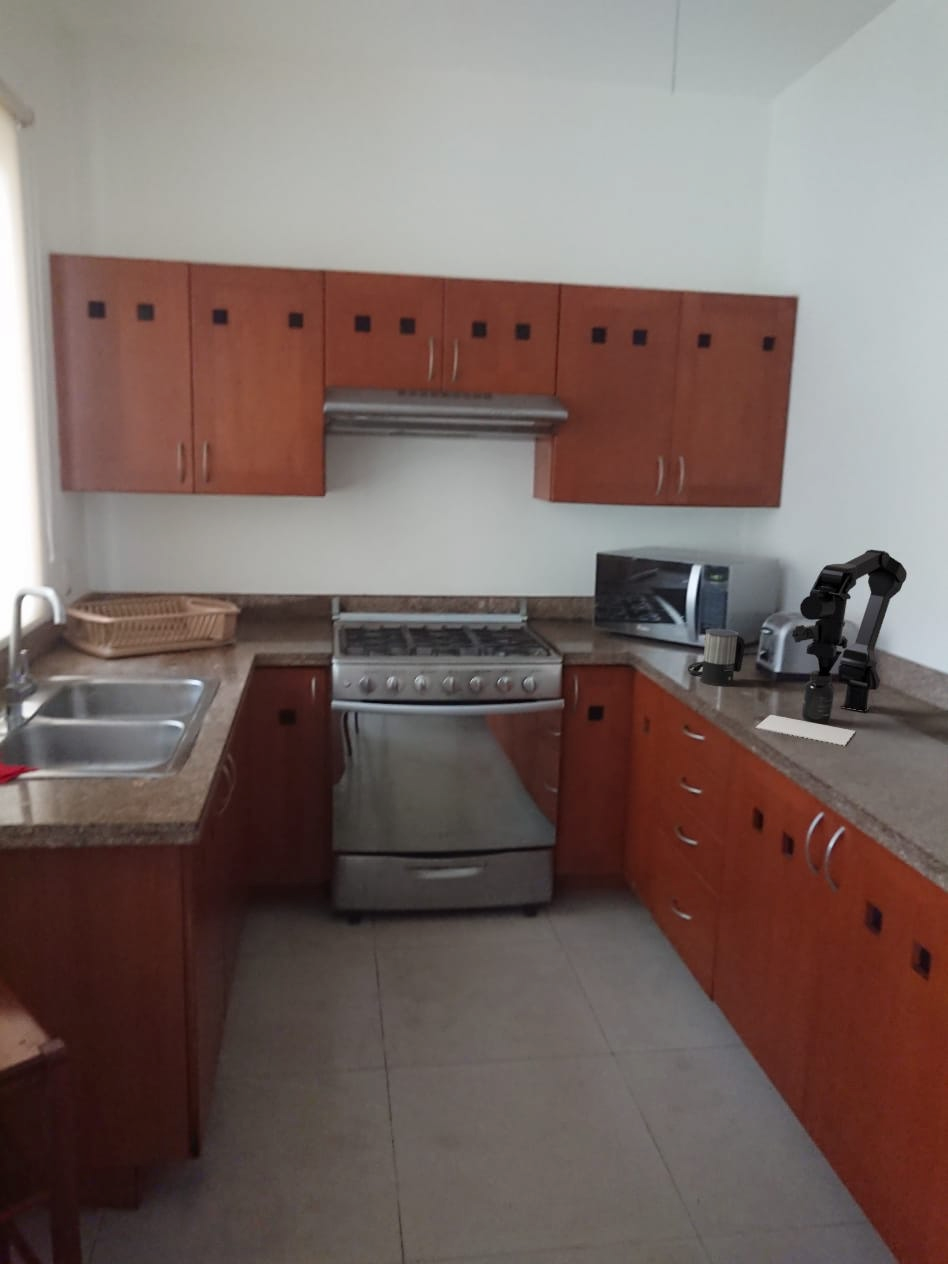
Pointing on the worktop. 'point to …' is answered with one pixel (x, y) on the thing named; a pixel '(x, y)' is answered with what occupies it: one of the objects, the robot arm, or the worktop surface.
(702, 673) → the milk frother
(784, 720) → the mat
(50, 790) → the worktop surface
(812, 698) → the supplement bottle
